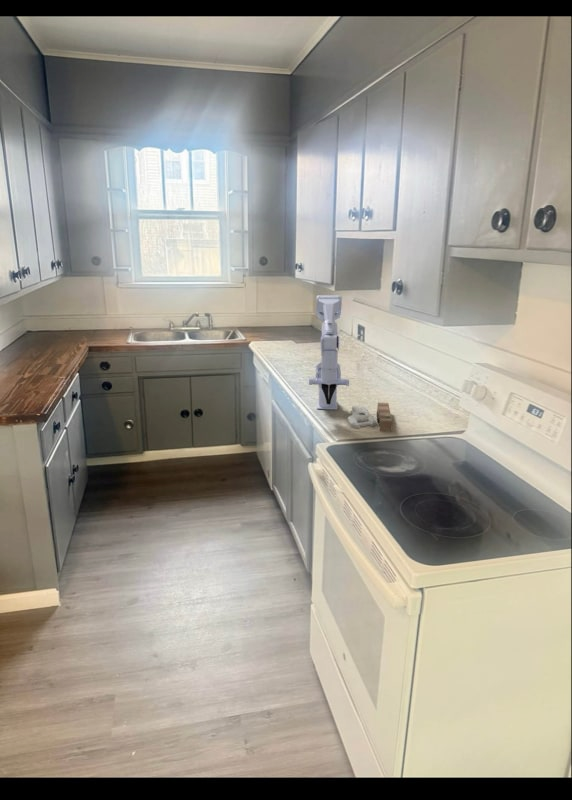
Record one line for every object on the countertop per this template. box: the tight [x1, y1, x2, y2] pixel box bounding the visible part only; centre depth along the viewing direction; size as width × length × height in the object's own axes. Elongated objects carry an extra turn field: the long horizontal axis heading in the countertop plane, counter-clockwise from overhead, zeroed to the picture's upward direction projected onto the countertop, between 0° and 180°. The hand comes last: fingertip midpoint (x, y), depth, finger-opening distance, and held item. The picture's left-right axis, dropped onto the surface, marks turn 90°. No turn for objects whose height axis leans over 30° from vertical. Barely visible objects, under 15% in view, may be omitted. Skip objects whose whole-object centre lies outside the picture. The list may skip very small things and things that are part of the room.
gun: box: [347, 405, 377, 430], centre depth 194 cm, size 18×4×10 cm
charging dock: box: [376, 402, 393, 432], centre depth 192 cm, size 20×5×4 cm, turn 173°
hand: (328, 403), depth 194 cm, fingers closed
